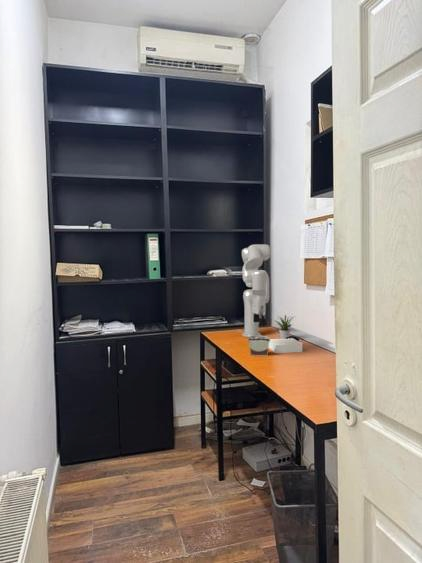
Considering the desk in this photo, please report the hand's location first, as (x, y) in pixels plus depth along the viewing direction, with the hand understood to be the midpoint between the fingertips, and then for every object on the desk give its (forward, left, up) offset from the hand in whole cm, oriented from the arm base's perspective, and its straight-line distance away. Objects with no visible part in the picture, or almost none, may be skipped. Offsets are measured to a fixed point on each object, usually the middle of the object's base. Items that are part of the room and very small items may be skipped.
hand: (259, 323), depth 213 cm
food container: (0, 0, -18) cm, 18 cm away
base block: (-6, +18, -18) cm, 26 cm away
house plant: (-30, +29, -18) cm, 46 cm away
